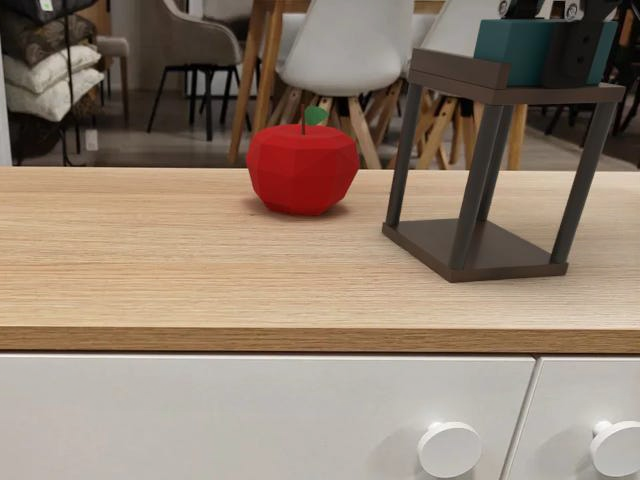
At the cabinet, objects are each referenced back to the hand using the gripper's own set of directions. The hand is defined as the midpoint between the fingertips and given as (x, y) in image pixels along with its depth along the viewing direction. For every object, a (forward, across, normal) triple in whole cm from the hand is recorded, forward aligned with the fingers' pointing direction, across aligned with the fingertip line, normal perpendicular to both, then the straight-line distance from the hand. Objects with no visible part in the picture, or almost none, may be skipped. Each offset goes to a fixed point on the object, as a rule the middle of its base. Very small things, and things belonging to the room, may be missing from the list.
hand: (534, 78), depth 48 cm
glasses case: (0, 0, 0) cm, 0 cm away
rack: (+14, +3, 0) cm, 15 cm away
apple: (+14, +18, +10) cm, 25 cm away
